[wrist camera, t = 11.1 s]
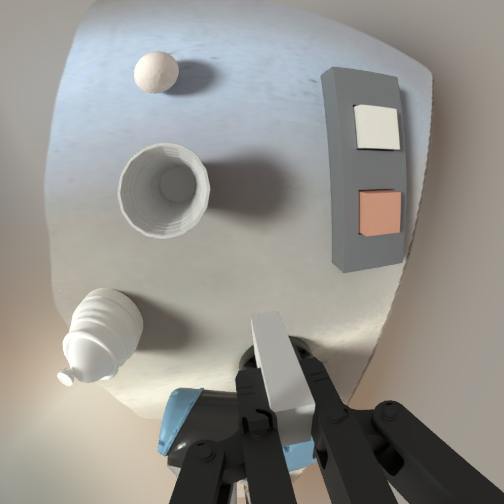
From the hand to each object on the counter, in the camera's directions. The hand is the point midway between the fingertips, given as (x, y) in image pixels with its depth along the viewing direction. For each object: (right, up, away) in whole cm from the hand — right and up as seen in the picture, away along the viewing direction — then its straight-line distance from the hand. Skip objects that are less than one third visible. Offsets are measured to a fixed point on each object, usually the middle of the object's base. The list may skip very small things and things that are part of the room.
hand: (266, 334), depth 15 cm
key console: (+18, +19, +27) cm, 37 cm away
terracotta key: (+19, +11, +27) cm, 34 cm away
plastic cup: (-12, +15, +25) cm, 31 cm away
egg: (-15, +31, +19) cm, 39 cm away
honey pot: (-27, -8, +31) cm, 42 cm away
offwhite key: (+17, +24, +22) cm, 37 cm away
